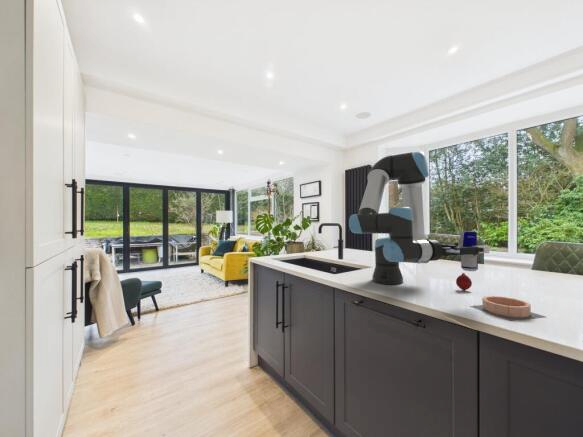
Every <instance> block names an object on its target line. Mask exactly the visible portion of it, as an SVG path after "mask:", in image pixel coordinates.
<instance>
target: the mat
mask: <svg viewBox="0 0 583 437" xmlns="http://www.w3.org/2000/svg"><path fill="white" fill-rule="evenodd" d="M469 307H470V308H473V309H476V310H479V311H481V312H484V313H487V314H490V315H492V316H496V317H497V318H501V319H503V320H506V321H509V322H514V321H515V322H517V321H524V320H534V319H541V318H547V316H545V315H541V314H538V313H535V312H532V311H531V313H530V317H527V318H513V317H506V316H501V315H497V314H493V313H490V312H488V311H486V310H484V308H483V304H482V305H481V304H480V305H470V306H469Z"/></svg>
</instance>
